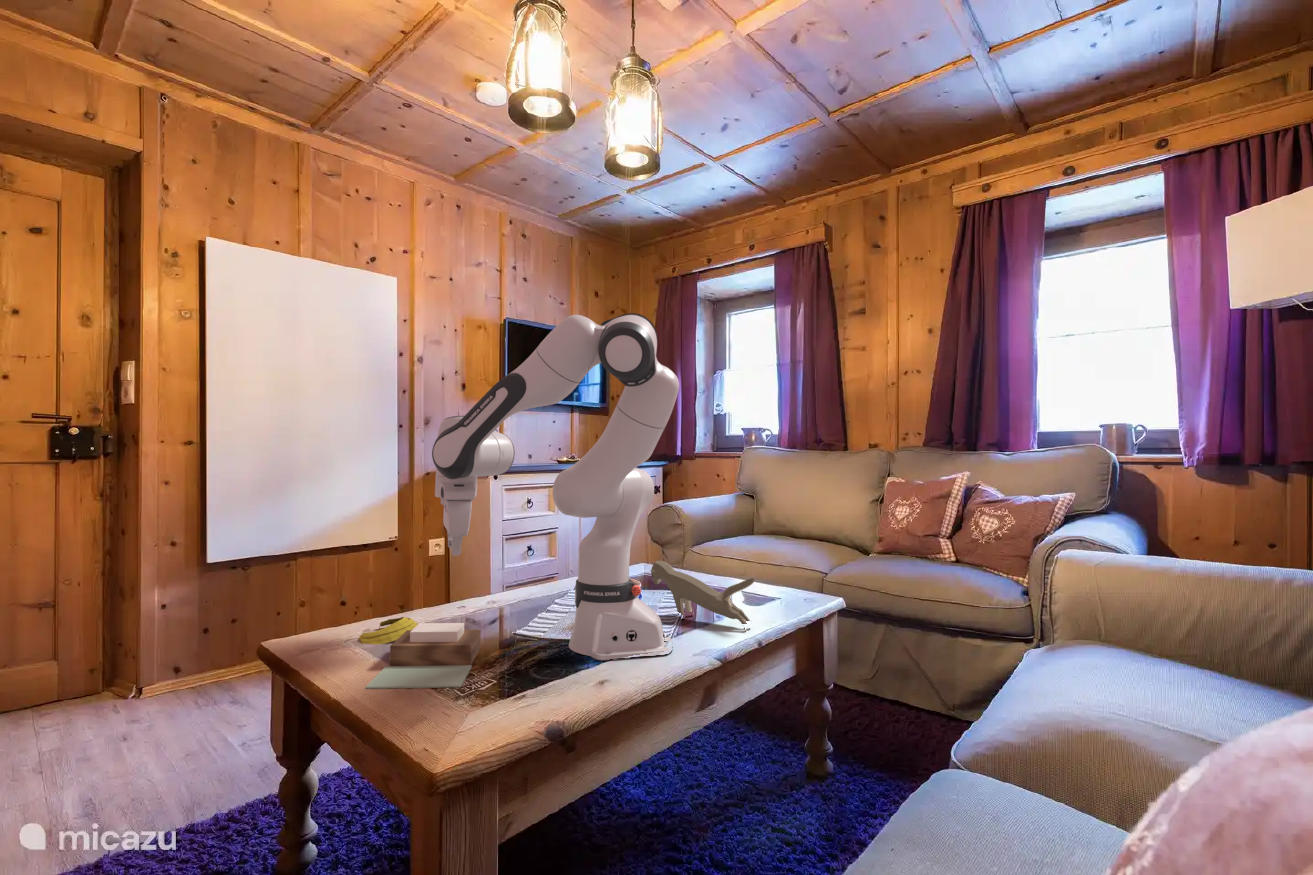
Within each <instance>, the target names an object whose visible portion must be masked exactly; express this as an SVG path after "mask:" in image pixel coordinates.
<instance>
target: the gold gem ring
mask: <svg viewBox="0 0 1313 875" xmlns="http://www.w3.org/2000/svg"><path fill="white" fill-rule="evenodd" d="M418 624H419V623H418V622H417V621H415V620H414V619H412V618H410V617H404V616H401V617H396V618H390V619H389V618H388V619H386V620H384V621H380V623H379V627H378V628H377V630H376V631H369V632H363V633H362V634H360V636H359V638H358V642H359V643H360V644H364V645H385V644H389V643H392V642H393V643H394V642H395V641H396V640H397V639H398V638H399V637H400V636H401V635H402V634H404V633H405V632H406V631H407V630H413V629H414V628H415V627H416V626H417V625H418ZM382 627H383V628H382ZM380 628H381V629H380Z"/></svg>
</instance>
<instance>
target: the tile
mask: <svg viewBox="0 0 1313 875" xmlns="http://www.w3.org/2000/svg"><path fill="white" fill-rule="evenodd" d="M464 630H465V623H464V622H427V623H426V622H424V623H421V622H419V623H418V625H417V626H416V627H415V628H414V629H413V630H412V631H411V632H410V642H458V640H459V639H460V638H461V636H462V635H463V633H464Z"/></svg>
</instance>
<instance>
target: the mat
mask: <svg viewBox="0 0 1313 875" xmlns="http://www.w3.org/2000/svg"><path fill="white" fill-rule="evenodd" d="M471 669H473V665H472V664H471V665H451V666H390V665H388V666H385V667H384V668H383V669H382V670H381V671H380V672H379V673H378V674H377V675H376V676H375V677H374V678H373V679H372V680H371V681H370V682H369V683H368V684H367V685H366V686H365V689H367V690H371V689H372V690H374V689H380V690H381V689H425V688H426V689H427V688H429V689H430V688H431V689H433V688H438V689H439V688H441V689H442V688H461V687H462V686H463V683H464V682H465V680H466V678H467V677H468V675H469V673H470V672H471Z"/></svg>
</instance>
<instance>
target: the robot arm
mask: <svg viewBox="0 0 1313 875" xmlns="http://www.w3.org/2000/svg"><path fill="white" fill-rule="evenodd" d="M658 340H659V339H658V332H657V329H656V327H655V325H654V323H653V322H652V321H651V320H650V319H649V318H648V317H646V316H645V315H642V314H639V313H635V312H633V313H632V312H630V313H624V314H621V315H617V316H615V317H613V318H610V319H608V320H605V321H603V322H601V324H597V323H596V322H595V321H593V320H592V319H590V318H588V317H587V316H584V315H581V314H572V315H569V316H567V317H565V318H564V319H563V320H562V321H560V322H559V323H558V324H557V325H556V326H555V327H554V328H553V329H552V330H550V332H549V333H548V334H547V335H546V336H545V338H543V340H542V341H541V342H540V343H539V345H538V346H537V347H535V349H534V351H533V352H532V353H531V354H530V355H529V356H528V357H527V358H526V359H525V360H524V361H523V362H522V363H521V364H520V365H518V366H517V368H515V369H514V370H512V371H511V372H510V373H508V374H507V375H505V376H504V377H502V378H501V379H500V380H499V381H497V382H496V383H495V384H494V385H493V386H492V387H491V388H490V389H489V390H488V391H487V392H486V393H485V394H484V395H483V396H482V397H481V398H480V399H479V400H478V401H477V402H476V403H475V405H473V406H472V407H471V408H470V410H468V411H467V413H465V415H454V416H449V417H446V418H444V419H443V420H442V421H441V422H440V424H439V428H438V431H437V432H438V433H437V438H436V439H435V440H434V443H433V446H432V452H431V458H432V462H433V464H434V467H435V469H436V471H435V479H434V480H435V481H434V482H435V484H434V485H435V486H434V497H436V498H440V505H443V515H442V516H443V518H442V521H443V522H442V524H443V526H444V527H445V529H446V532H447V534H446V535H447V547H448V549H451V555H452V556H454V557H457V556H460V555H461V554H462V545H463V544H462V543H463V540H464V539H463V537H466V536H468V533H469V530H470V526H471V518H472V508H473V501H474V500H476V497H478V496H477V495H478V493H477V492H478V477H487V476H488V477H489V476H491V477H492V476H499V475H503V474H505V473H506V472H507V471H509V470H510V469H511V467H512V465H513V463H514V461H515V453H516V452H515V447H514V444H513V442H512V440H511V438H510V437H509V436H508V435H506V434H505V433H501V432H499V431H496V429H498V428H499V427H500V426H501V425H502V423H504V421H505V420H507V419H508V418H510V417H512V416H513V415H515V414H516V413H517V414H518V413H519V412H522V411H526V410H529V409H533V408H538V407H540V408H541V407H547V406H552V405H556V404H558V403H560V402H561V401H564V399H565V398H567V397H569V395H570V394H571V393H573V391H574V390H575V389H576V388H577V386H578V385H579V384H580V383H581V382H582V380H583V379H584V378H585V377H586V375H588V373H589V372H590V371H591V370H592V369H593V368H594V367H595V366H597V365H599V364H601V365H602V366H603V368H604V369H605V370H606V371H607V372H608V373H609V374H611V376H614V377H615V378H616V379H617V380H618V381H619V382H621V384H623V385H624V388H623V391H622V393H621V395H620V397H619V400H618V402H617V403H616V406H615V408H614V411H613V412H612V415H611V417H610V418H609V420H608V423H607V424H606V426H605V429H604V431H603V432H602V434H601V435H600V437H599V439H598V440H597V441H596V442H595V443H594V444H593V446H592V447H591V448H590V449H588V451H587V452H586V453H585V455H583V456H582V458H580V459H579V460H578V461H576V462H575V463H574V464H571V466H569V467H567V468H565V469H564V470H562V471H561V472H559V473H558V475H557V476H556V478H555V480H554V482H553V484H552V485H553V486H552V498H553V502H554V504H555V507H556V509H558V511H559V512H560V513H561V514H563V515H564V516H565V515H566V516H570V517H575V518H583V519H588V518H595V521H594V524H593V527H592V528H591V530H590V532H589V533H588V534H587V535H585V537H583V538H582V540H581V541H580V543H579V546H578V560H577V562H578V563H577V564H578V565H577V566H578V567H577V579H576V581H575V585H574V605H575V614H574V621H573V626H572V627H573V628H572V632H571V636H570V638H569V641H568V642H569V643H568V648H569V650H571V651H572V652H574V653H577V654H580V655H584V656H589V657H591V658H593V659H594V660H597V661H609V660H610V659H613V660H618V659H617V658H622V657H628V656H633V655H640V654H648V653H653V652H664V651H668V650H669V648H666V647H664V645H666V643H665V642H664V641H672V642H673V640H672V638H671V637H670V636H669V637H667V638H666V639H665V640H664V637H663V633H664V629H663V624H662V620H661V617H660V616H659V614H658V613H657V612H656V610H654V609H653V608H651V607H650V606H649V605H648V604H646V603H645V602H644V601H643V600H641V599H640V598H639V597H638V596H640V595H641V594H642V589H641V586H640V585H638V583H637V582H636V581H635V580H632V579H630V558H631V557H630V556H631V545H632V541H633V536H634V533H635V530H636V527H637V525H638V522H639V520H640V518H641V516H642V514H643V512H644V511H645V510H646V509H647V508H648V507H649V506H650V504H651V503H652V501H653V499H654V496H655V495H654V494H655V484H654V480H653V479H652V477H651V475H650V474H649V473H648V472H647V471H645V470H644V469H641V468H639V466H640V465H642V464H644V463H645V462H646V461H648V460H649V458H651V456H652V454H653V452H654V450H655V448H656V447H657V445H658V442H659V440H660V438H661V436H662V434H663V432H664V431H665V428H666V426H667V424H668V422H669V420H670V418H671V415H672V413H673V410H674V406H675V403H676V400H677V397H678V394H679V389H680V381H679V378H678V377H677V375H676V374H675V372H673V370H672V369H670V368H669V367H668V366H665V365H664V364H661V363H660V362H659V361H658V358H657V351H658V350H657V348H658ZM610 661H611V660H610Z"/></svg>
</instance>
